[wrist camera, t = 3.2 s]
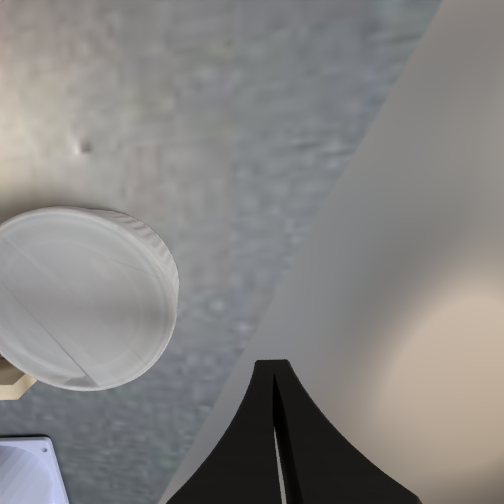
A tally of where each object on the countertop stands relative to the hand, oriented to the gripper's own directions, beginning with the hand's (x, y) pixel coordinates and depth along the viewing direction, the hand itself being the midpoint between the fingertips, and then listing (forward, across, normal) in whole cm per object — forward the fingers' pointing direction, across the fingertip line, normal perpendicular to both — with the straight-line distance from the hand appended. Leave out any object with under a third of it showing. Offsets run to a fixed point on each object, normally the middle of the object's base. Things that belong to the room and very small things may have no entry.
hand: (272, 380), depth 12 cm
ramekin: (+10, +11, -1) cm, 15 cm away
